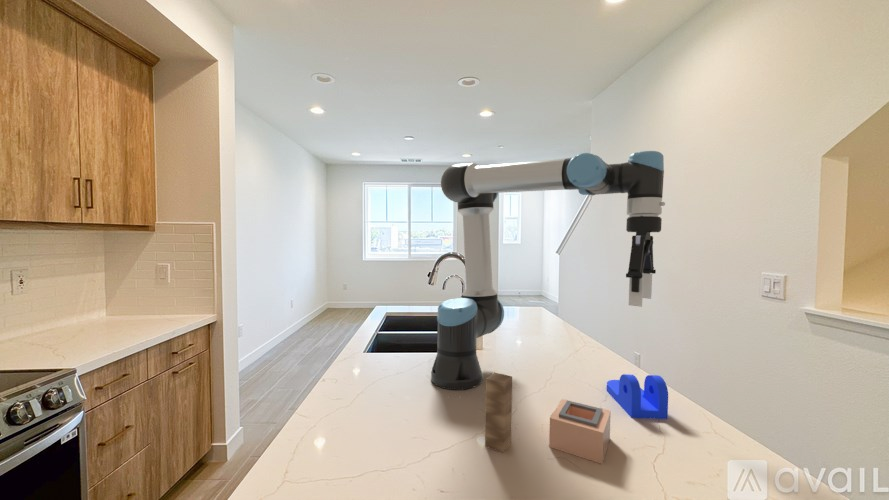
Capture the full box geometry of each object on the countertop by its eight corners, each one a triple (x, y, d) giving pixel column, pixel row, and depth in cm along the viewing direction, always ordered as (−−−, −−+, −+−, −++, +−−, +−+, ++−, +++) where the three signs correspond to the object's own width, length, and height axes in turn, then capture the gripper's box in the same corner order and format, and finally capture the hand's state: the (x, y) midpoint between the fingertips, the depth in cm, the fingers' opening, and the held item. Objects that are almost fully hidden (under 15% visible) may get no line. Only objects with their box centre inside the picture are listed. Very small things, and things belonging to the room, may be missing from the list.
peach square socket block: (549, 446, 72) (549, 414, 72) (561, 424, 81) (562, 396, 81) (602, 463, 67) (603, 429, 67) (609, 438, 75) (610, 408, 75)
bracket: (667, 419, 84) (668, 382, 84) (631, 418, 84) (632, 381, 84) (631, 387, 102) (632, 356, 101) (601, 386, 102) (602, 355, 102)
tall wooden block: (485, 446, 72) (486, 378, 72) (493, 437, 76) (494, 372, 75) (503, 453, 70) (504, 383, 70) (511, 443, 74) (512, 376, 73)
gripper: (653, 213, 76) (649, 312, 76) (667, 218, 95) (664, 296, 96) (615, 213, 80) (612, 307, 81) (636, 218, 100) (633, 293, 101)
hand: (640, 301), depth 89 cm, fingers open, 13 cm apart
